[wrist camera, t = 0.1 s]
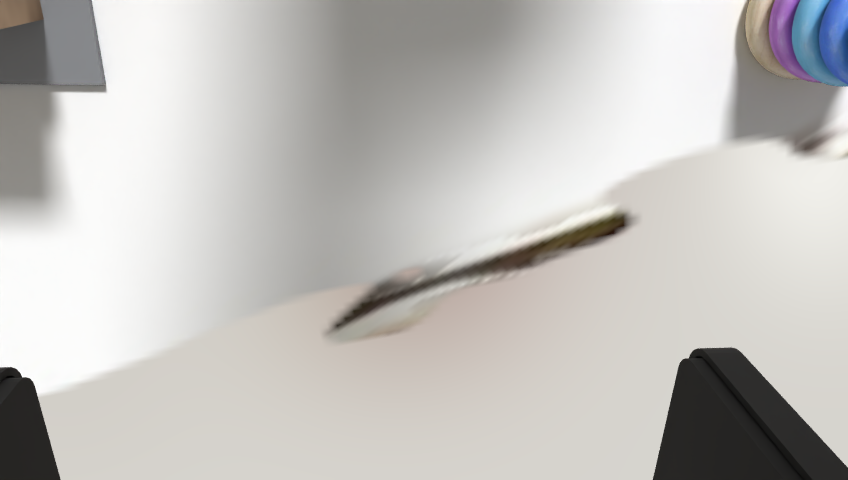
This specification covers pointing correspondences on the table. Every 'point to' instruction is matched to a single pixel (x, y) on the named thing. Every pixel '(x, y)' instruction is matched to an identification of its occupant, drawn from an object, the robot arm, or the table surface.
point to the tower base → (19, 12)
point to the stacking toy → (800, 38)
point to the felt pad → (53, 47)
